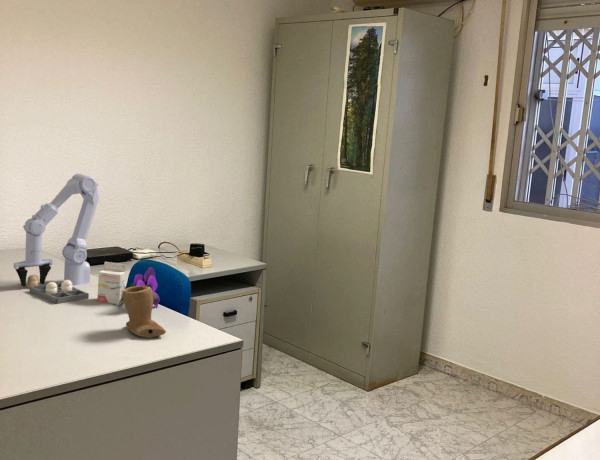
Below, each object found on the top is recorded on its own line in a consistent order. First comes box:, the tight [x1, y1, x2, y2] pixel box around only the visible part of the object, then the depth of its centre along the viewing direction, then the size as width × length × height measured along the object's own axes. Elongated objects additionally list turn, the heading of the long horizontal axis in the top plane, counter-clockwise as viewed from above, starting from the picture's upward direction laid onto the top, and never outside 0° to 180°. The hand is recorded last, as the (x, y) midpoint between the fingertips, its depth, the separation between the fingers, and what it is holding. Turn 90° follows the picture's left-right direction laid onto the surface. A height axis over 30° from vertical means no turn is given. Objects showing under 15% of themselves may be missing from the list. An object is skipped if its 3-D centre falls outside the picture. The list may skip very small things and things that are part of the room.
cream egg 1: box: [46, 281, 57, 294], centre depth 240 cm, size 4×4×6 cm
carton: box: [29, 281, 90, 305], centre depth 243 cm, size 13×19×2 cm
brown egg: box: [26, 274, 40, 290], centre depth 250 cm, size 4×4×6 cm
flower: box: [121, 266, 161, 308], centre depth 239 cm, size 15×15×14 cm
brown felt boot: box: [122, 286, 167, 339], centre depth 211 cm, size 15×12×15 cm
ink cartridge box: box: [97, 261, 126, 306], centre depth 240 cm, size 9×5×15 cm, turn 83°
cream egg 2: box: [61, 279, 73, 292], centre depth 245 cm, size 4×4×6 cm
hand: (32, 284), depth 250 cm, fingers open, 7 cm apart
